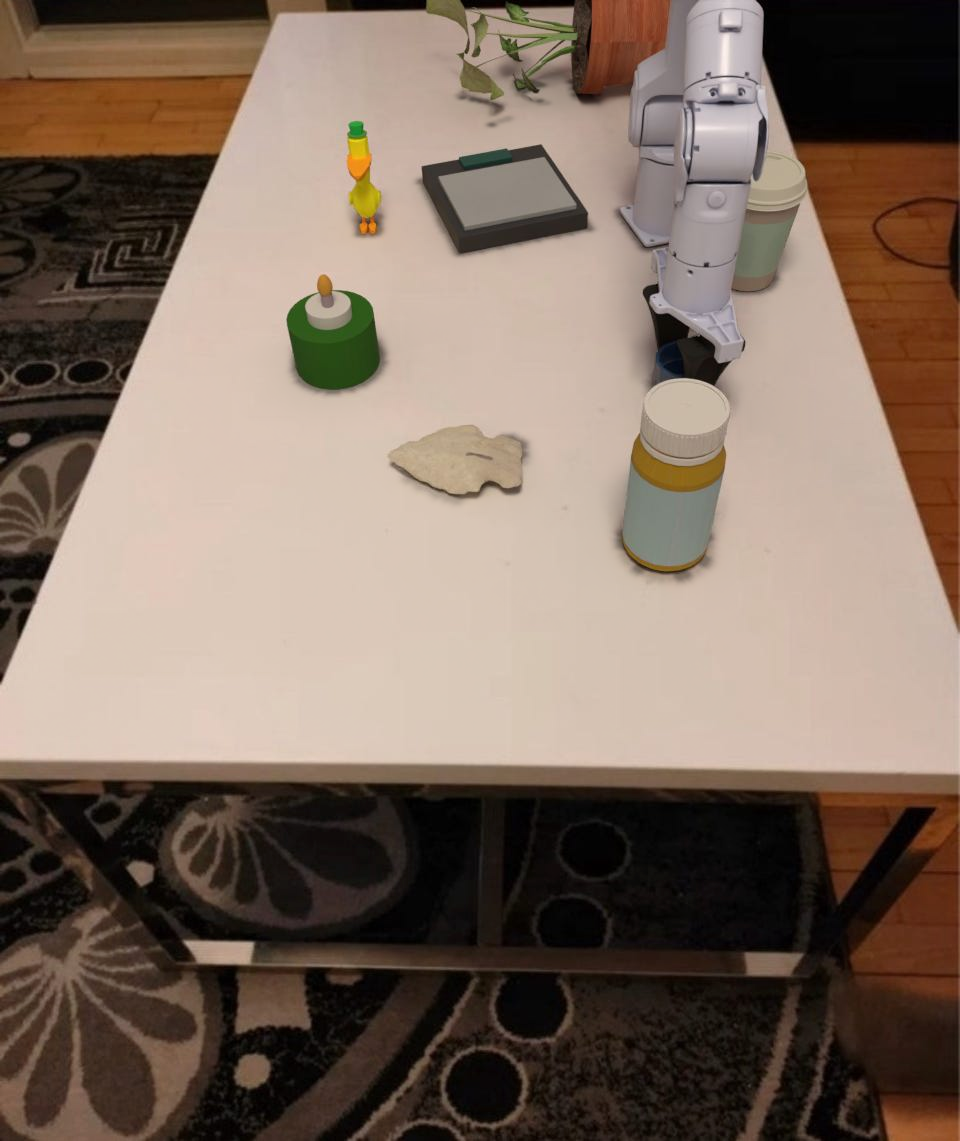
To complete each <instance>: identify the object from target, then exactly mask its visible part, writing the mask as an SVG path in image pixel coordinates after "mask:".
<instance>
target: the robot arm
mask: <svg viewBox="0 0 960 1141" xmlns="http://www.w3.org/2000/svg"><path fill="white" fill-rule="evenodd" d="M764 16H765V15H764V10H763V7H762V6H761V4H760V3H759V2H758V1H757V0H671V1H670V10H669V18H668V26H667V35H666V43H665V48H664V49H663V50H661V51H659V52H657V53H656V54H654V55H652V56H651V57H649V58H647V59H645V60H644V61H642V62H641V63H639V64H638V66H637V70H636V71H635V73H634V82H633V83H632V87H631V89H630V95H629V106H628V126H627V130H628V131H627V134H628V136H627V137H628V142H629V143H630V144H631V146H632V148H634V149H635V148H638V157H637V158H638V159H637V170H636V178H635V179H636V180H635V189H634V190H635V191H634V202H633V203H632V204H628V205H623V206H621V207H619V213H620V215H621V216H622V218H623V219H624V220H625V222H626V223H627V224H628V226H629V227H630V228H631V230H632V231H633V232H634V234H635V235H636V237H637V238H638V240H639V241H640V242H641V243H642V245H643V246H644V247H646V248H650V247H655V246H660V245H664V244H665V245H666V244H668V246H665V247H659V248H656V249H655V248H654V249H652V253H651V261H650V270H651V271H652V272H653V273H654V274H655V275H656V274H657V275H656V276H657V281H656V283H653V284H649V285H646V286H645V287H644V288H642V296H643V299H644V300H645V302H646V304H647V307H648V310H649V313H650V316H651V320H652V324H653V329H654V331H653V332H654V338H655V345H656V352H657V351H658V350H659V349H660V347H661V346H662V345H664V344H667V343H669V342H671V341H676V340H677V345H678V347H679V349H680V351H681V354H682V357H683V362H684V370H685V376H684V378H688V379H695V380H700V381H703V382H706V383H708V384H711V385H712V386H714V387H716V384H717V382H718V381H719V379H720V377H721V375H722V374H723V372H724V371H725V370H726V369H727V368H728V366H729V365H730V364H731V363H732V362H733V361H737V360H740V359H741V358H742V357H741V356H742V353H743V352H744V351H745V347H746V344H747V343H746V342H747V341H746V340H745V338H744V337H743V335H742V334H741V333H740V330H739V327H738V323H737V315H736V310H735V305H734V298H733V297H734V296H733V292H732V288H731V286H732V281H733V276H734V271H735V265H736V260H737V255H738V250H739V245H740V239H741V234H742V229H743V223H744V218H745V213H746V208H747V202H748V197H749V192H750V187H751V175H752V174H753V178H754V180H755V181H758V180H759V179H760V177H761V174H762V171H763V167H764V163H765V159H766V154H767V150H769V149H768V147H769V137H770V117H769V116H770V115H769V105H768V101H767V86H766V85H762V69H763V68H762V66H763V42H764V41H763V40H764V39H763V38H764ZM690 329H691V330H693V331H694V332H696V333H698V334H699V335H698V334H697V335H694V336H689V332H690Z"/></svg>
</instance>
